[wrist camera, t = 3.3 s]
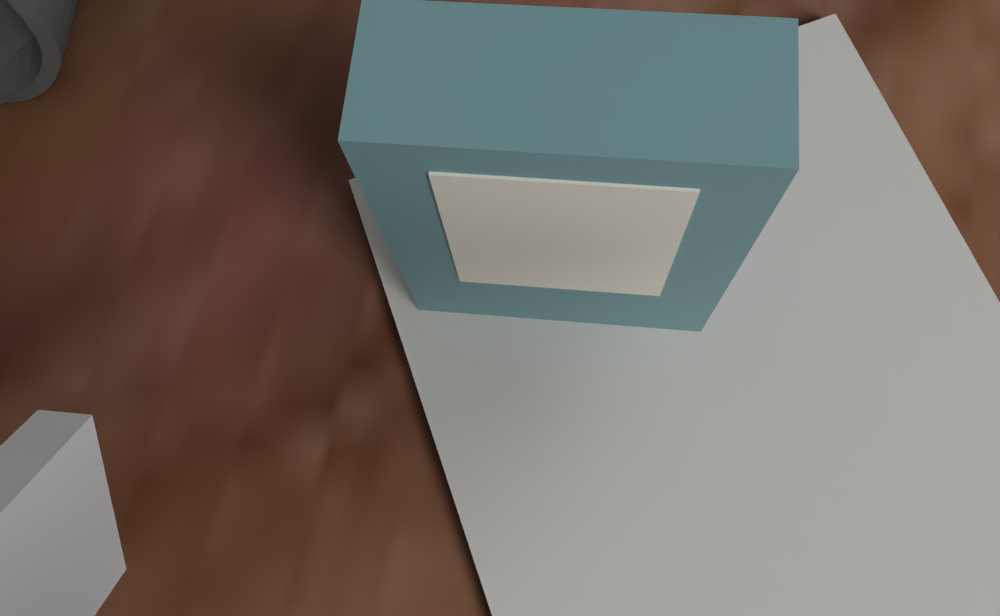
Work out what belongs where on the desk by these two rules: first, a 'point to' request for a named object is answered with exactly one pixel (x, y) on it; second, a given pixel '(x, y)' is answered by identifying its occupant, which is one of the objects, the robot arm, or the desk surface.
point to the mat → (744, 408)
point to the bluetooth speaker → (32, 45)
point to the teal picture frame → (570, 154)
